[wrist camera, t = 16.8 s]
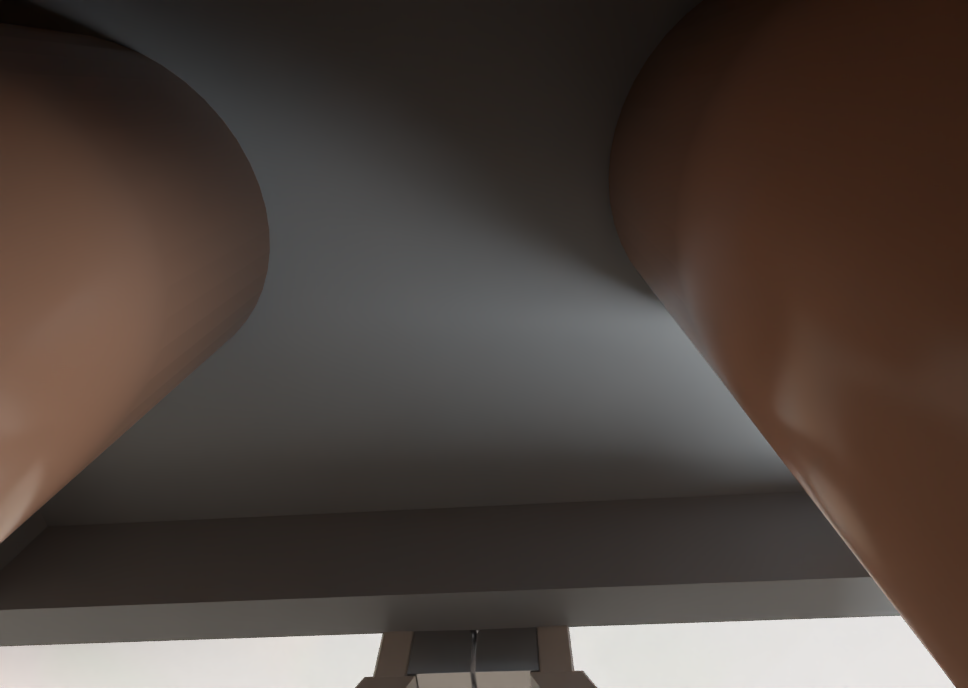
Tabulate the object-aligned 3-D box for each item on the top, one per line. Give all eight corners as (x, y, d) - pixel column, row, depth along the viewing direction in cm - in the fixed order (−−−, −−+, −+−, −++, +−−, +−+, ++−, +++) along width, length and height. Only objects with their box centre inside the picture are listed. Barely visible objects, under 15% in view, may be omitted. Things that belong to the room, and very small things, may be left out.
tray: (1341, -876, 5) (2068, -1715, 3) (945, 498, 11) (1067, 609, 9) (-485, -564, 6) (-1113, -983, 4) (45, 539, 12) (-66, 648, 10)
